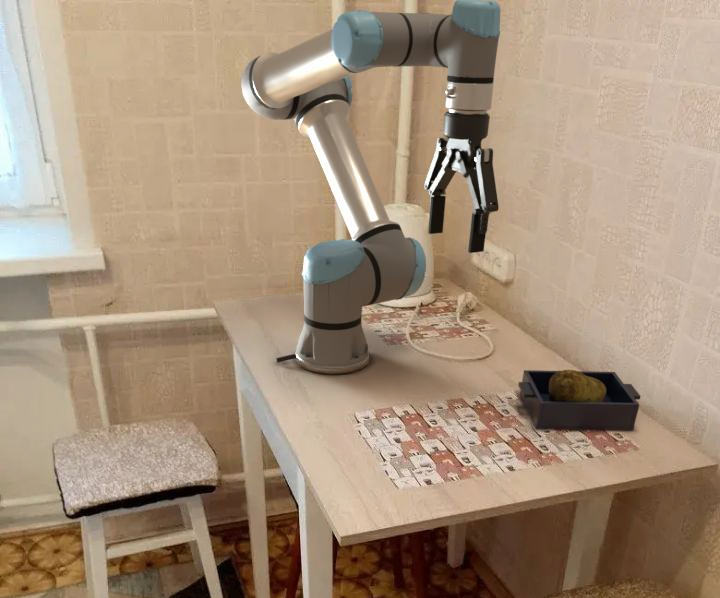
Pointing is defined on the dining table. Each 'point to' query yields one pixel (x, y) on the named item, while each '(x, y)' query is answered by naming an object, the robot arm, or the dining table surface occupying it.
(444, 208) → the robot arm
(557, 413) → the roasting pan
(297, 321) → the dining table surface
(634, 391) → the pan handles
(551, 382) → the potato
